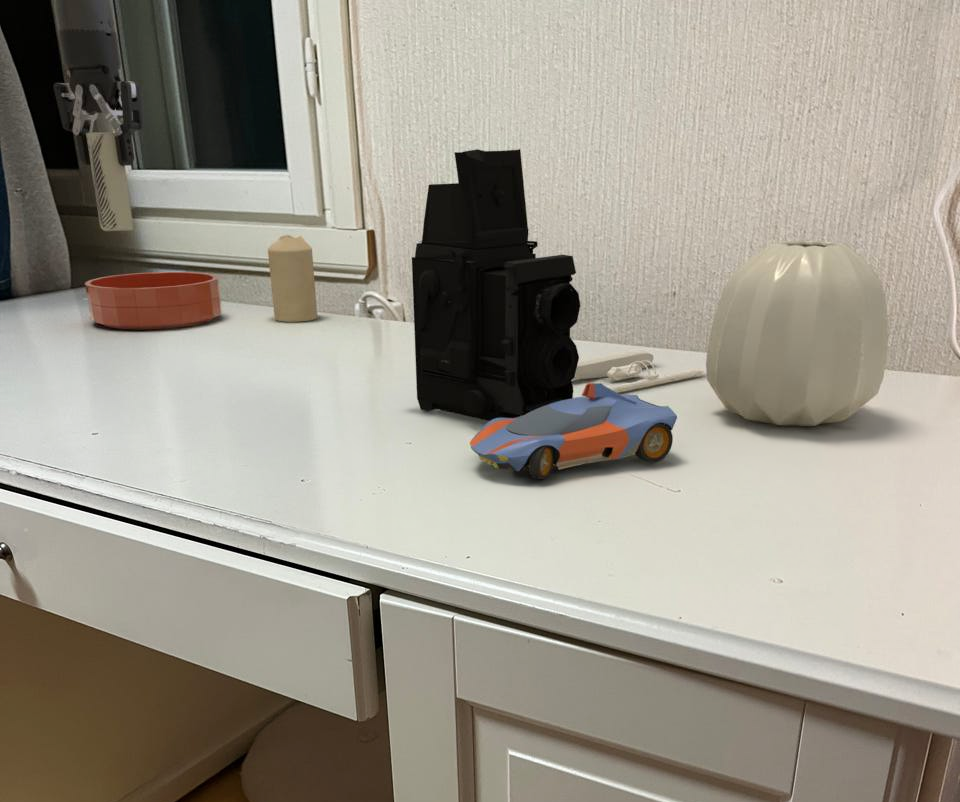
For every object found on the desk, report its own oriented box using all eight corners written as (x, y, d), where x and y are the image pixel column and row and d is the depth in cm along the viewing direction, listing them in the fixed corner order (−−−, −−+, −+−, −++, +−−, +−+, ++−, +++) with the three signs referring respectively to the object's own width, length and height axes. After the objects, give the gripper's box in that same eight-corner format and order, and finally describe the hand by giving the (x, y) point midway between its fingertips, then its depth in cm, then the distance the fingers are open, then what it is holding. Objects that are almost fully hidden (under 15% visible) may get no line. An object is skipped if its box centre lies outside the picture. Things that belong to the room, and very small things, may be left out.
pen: (548, 384, 93) (548, 366, 92) (645, 363, 101) (646, 346, 100) (560, 387, 92) (560, 369, 91) (657, 365, 100) (658, 348, 99)
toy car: (451, 459, 72) (449, 385, 69) (622, 433, 78) (626, 364, 75) (503, 491, 65) (503, 410, 63) (685, 459, 71) (692, 385, 69)
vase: (867, 400, 86) (895, 236, 80) (879, 443, 74) (913, 254, 68) (707, 392, 90) (722, 234, 84) (694, 432, 78) (711, 251, 72)
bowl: (64, 326, 125) (56, 284, 122) (154, 307, 138) (148, 269, 135) (163, 335, 118) (157, 291, 116) (247, 314, 131) (243, 275, 129)
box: (100, 229, 147) (84, 132, 141) (130, 228, 149) (116, 132, 143) (104, 231, 143) (87, 132, 137) (135, 230, 144) (120, 132, 139)
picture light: (600, 397, 88) (601, 374, 87) (567, 389, 91) (568, 366, 90) (705, 376, 96) (707, 354, 95) (671, 368, 99) (673, 347, 98)
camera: (521, 441, 76) (524, 150, 67) (403, 411, 84) (391, 149, 75) (600, 416, 82) (613, 148, 73) (483, 391, 91) (482, 147, 82)
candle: (271, 316, 130) (263, 235, 125) (312, 314, 131) (305, 233, 127) (278, 323, 125) (270, 238, 120) (321, 320, 127) (315, 236, 122)
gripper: (26, 28, 134) (51, 165, 142) (106, 24, 128) (127, 166, 136) (69, 33, 140) (90, 164, 148) (147, 29, 134) (164, 165, 142)
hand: (108, 164), depth 142 cm, fingers closed on box, 6 cm apart
